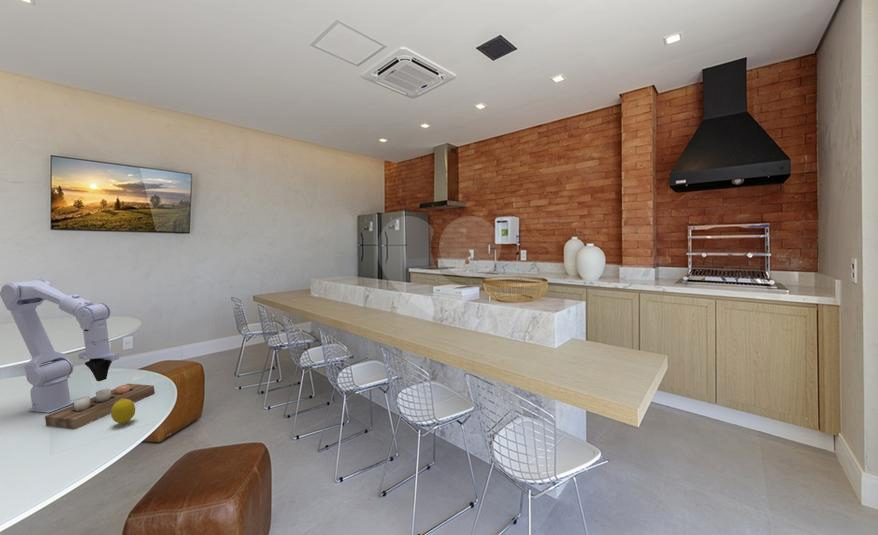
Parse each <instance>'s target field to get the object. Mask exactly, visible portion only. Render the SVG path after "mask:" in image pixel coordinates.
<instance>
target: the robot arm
mask: <svg viewBox="0 0 878 535" xmlns="http://www.w3.org/2000/svg"><path fill="white" fill-rule="evenodd" d="M0 298H1V300H2V302H3V304H4V306H5V308H6V310H8V311H9V312H10V313H11V316H12V319H13V320H14V322H15V325H16V326H17V330H18V331H19V333H20V335H21V337H22V339H23V342H24V345H25V346H26V348H27V350H28V353H29V354H30V356H31V360H30V361H29V362H28V363H27V364H25V366H24V369H25V370H24V371H25V374H26V375H25V377H26V381H27V382H28V383H29V384H30V385H32V387H31V389H30V391H29V392H30V400H31V406H32V408H29V409H28V411H29V412H36V413H47V414H51V413H52V412H53V413H54V412H57V411H59V410H62V409H64V408H67V407H69V406H72V405H74V404H73V403H74V400H75V399H71V396H70V395H71V394H70V388H69V380H68V379H69V378H71V377H70V375H71V374H73V372H74V367H75V366H74V363H73V362H72V361H71V360H70V359H69V358H68V356H67V355H66V354H65V353H63V352H60V351H55V348H54V347H53V345H52V341H51V340H50V337H49V336H48V334H47V331H46V330H45V328H44V325H43V323H42V321H41V320H40V316H39V315H38V312H37V308H38V306H40V305H42V304H43V303H44V302H45V301H47V302H50V303H53V304H56V305H58V308H59V310H60V311H63V312H64V313H66V314H70V315H72V316H74V317H75V319H76V321H77V322H78V324H79V328H80V329H81V330H82V333H83V341H84V347H85V348H84V349H85V351H82V352H78V359H79V360H85V362H84V365H85V366H86V367H87V368H88V369H89V370H90V372H92V375H93V377H94V378H95V381H96V382H103V381H105V380H107V378H108V373H109V370H110V367H111V364H112V362H114V361H118V360H120V355H119V353H116V352H114V351H111V349H110V341H109V334H108V324H107V320H108V318H110V317H111V310H110V307H109V306H108V305H107V304H105V303H104V302H99V303H98V302H97V303H95V302H93V301H92V300H87V299H85V298H83V297H82V296H80V295H79V294H70V295H67V294H65V293H64V292H63V291H60V290H58V289H57V288H55V287H53V285H52V282H50V281H47V280H46V279H42V278H39V279H35V280H27V281H18V282H6V283H4V285H2V287H1V290H0ZM86 360H89V361H86Z"/></svg>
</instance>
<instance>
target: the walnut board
mask: <svg viewBox="0 0 878 535" xmlns="http://www.w3.org/2000/svg"><path fill="white" fill-rule="evenodd" d="M125 385H130V392H127V393H125V394H123V395H117V394H116V388H113V389H110V391H111V399H109V400H107V401H103V402H97V400H96V395H95V396H93V397H90V404H91V407H90V408H88V409H85V410H81V411H75V408H74V404H71V405H69V406H66V407H64V408H61V409H59V410H56V411H54V412H53V413H52V412H51V413H49V414H48V415H45V416H44V420H45V421H44V422H45V426H47V427H55V428H62V429H63V428H65V429H71V430H77V429H79V428H82V427H83V426H85V424H86V425H88V424H90V423H92V422H94V420H95V421H97V420H99V419H101V418H103V417H105V415H106V416H108V415H111V410H112V407H113V405H114V404H115V403H116V402H117V401H119V400H120V399H122V398H123V399H129V400H131V401H132V402H135V403H137V402H139V401H141V400H143V399H145V397H146V398H148V397H150V396H152V395H154V393H155V394H156V392H155V386H154V384H153V385H152V384H139V383H125ZM138 400H139V401H138ZM136 401H137V402H136ZM107 414H108V415H107ZM98 418H99V419H98ZM96 419H97V420H96ZM91 421H92V422H91ZM89 422H90V423H89ZM87 423H88V424H87ZM78 427H79V428H78Z"/></svg>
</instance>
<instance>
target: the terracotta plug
mask: <svg viewBox="0 0 878 535" xmlns="http://www.w3.org/2000/svg"><path fill="white" fill-rule="evenodd" d="M115 389H116V394H117V395H123V394H125V393H127V392H130V385H126V384H122V385H118V386H117V387H116V388H115Z"/></svg>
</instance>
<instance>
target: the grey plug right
mask: <svg viewBox="0 0 878 535" xmlns="http://www.w3.org/2000/svg"><path fill="white" fill-rule="evenodd" d="M90 398H91V397H90V396H83V397H79V398H76V399H73V400H74V404H73V405H74V408H75V411H81V410H85V409H88V408H90V407H91V404H90Z"/></svg>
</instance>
